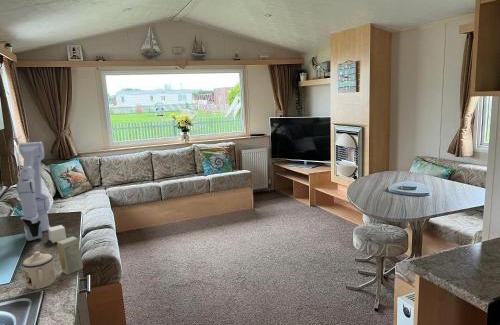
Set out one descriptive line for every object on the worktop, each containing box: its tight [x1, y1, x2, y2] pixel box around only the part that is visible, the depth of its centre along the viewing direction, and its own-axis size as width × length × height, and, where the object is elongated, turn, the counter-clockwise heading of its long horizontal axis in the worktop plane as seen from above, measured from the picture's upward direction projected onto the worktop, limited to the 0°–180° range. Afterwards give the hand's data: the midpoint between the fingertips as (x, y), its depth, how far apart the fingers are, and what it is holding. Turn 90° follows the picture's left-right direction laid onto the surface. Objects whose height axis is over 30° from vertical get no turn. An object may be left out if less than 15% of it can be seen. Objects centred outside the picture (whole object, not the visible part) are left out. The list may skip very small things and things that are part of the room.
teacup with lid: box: [22, 250, 56, 290], centre depth 126 cm, size 12×9×12 cm
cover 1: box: [23, 225, 44, 241], centre depth 169 cm, size 6×6×6 cm
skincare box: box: [56, 235, 84, 275], centre depth 136 cm, size 6×4×12 cm
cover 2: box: [47, 224, 67, 244], centre depth 168 cm, size 6×6×6 cm
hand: (33, 234), depth 169 cm, fingers closed on cover 1, 6 cm apart
